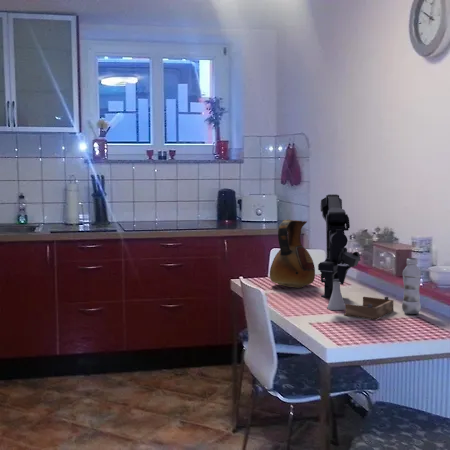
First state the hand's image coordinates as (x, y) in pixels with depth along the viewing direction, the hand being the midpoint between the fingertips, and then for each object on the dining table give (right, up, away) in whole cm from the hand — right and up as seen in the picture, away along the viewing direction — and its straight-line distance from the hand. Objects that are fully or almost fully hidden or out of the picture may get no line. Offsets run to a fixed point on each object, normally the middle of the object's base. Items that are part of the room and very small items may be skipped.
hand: (336, 286), depth 236 cm
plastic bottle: (+25, -9, -9) cm, 28 cm away
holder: (+11, -9, -7) cm, 16 cm away
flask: (0, -9, +1) cm, 9 cm away
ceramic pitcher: (-12, -5, +44) cm, 45 cm away
